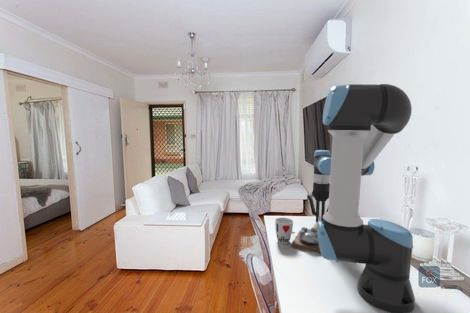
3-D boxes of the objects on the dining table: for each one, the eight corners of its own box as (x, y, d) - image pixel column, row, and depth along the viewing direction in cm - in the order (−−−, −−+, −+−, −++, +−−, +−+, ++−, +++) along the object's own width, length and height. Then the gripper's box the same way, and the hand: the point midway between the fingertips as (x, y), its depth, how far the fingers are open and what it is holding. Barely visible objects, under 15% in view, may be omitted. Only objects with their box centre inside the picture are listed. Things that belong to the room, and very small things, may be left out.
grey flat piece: (321, 247, 102) (321, 238, 102) (295, 241, 108) (296, 232, 107) (329, 232, 119) (329, 223, 119) (306, 227, 125) (306, 219, 124)
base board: (324, 255, 101) (325, 250, 100) (291, 247, 107) (291, 242, 107) (329, 241, 113) (329, 237, 113) (299, 235, 119) (299, 231, 119)
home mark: (294, 232, 123) (294, 232, 123) (291, 233, 122) (291, 232, 122) (289, 229, 127) (289, 229, 126) (287, 230, 126) (287, 229, 126)
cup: (272, 242, 111) (272, 221, 110) (277, 236, 118) (278, 216, 117) (289, 246, 108) (290, 225, 107) (294, 239, 115) (294, 219, 114)
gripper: (336, 182, 116) (334, 229, 119) (309, 179, 122) (307, 224, 125) (335, 185, 110) (332, 234, 112) (306, 182, 116) (304, 229, 118)
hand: (319, 229), depth 118 cm, fingers closed
